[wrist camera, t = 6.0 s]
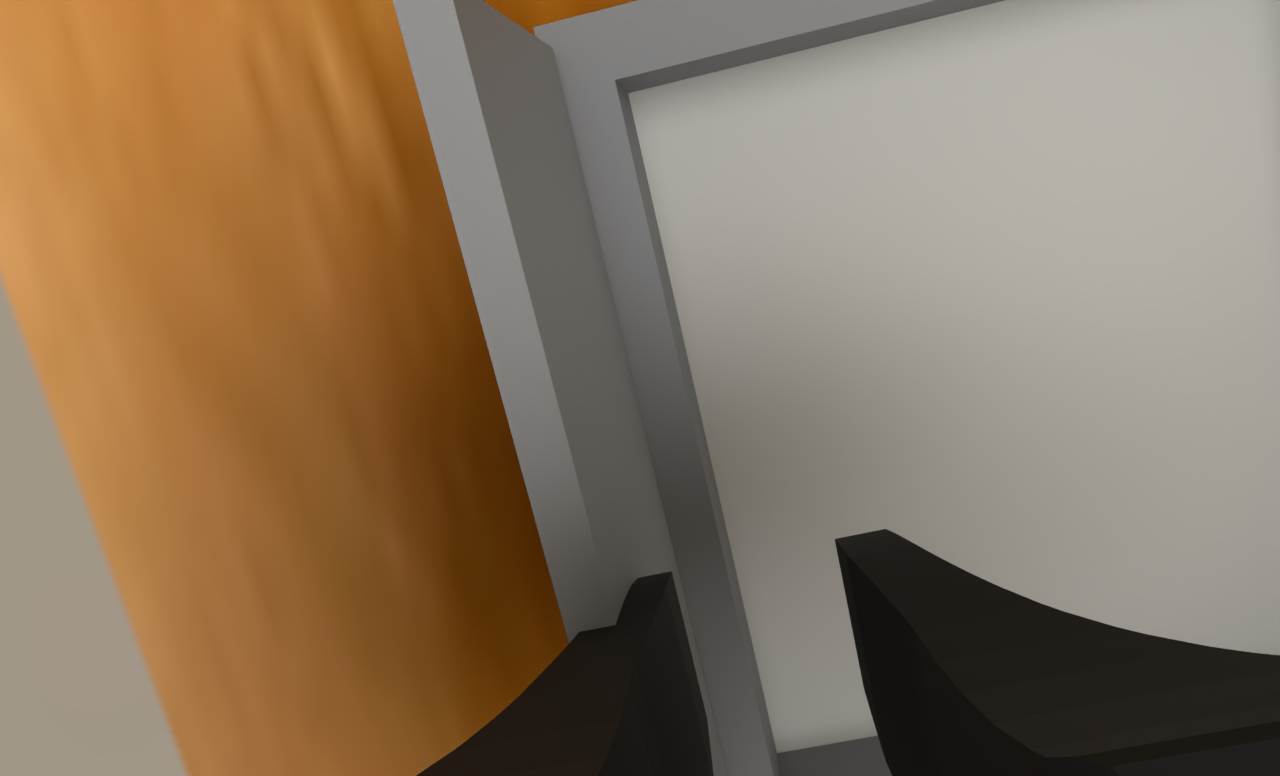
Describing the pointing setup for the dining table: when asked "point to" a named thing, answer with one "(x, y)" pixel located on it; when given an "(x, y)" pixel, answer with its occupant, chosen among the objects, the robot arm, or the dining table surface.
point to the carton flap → (544, 307)
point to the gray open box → (941, 317)
